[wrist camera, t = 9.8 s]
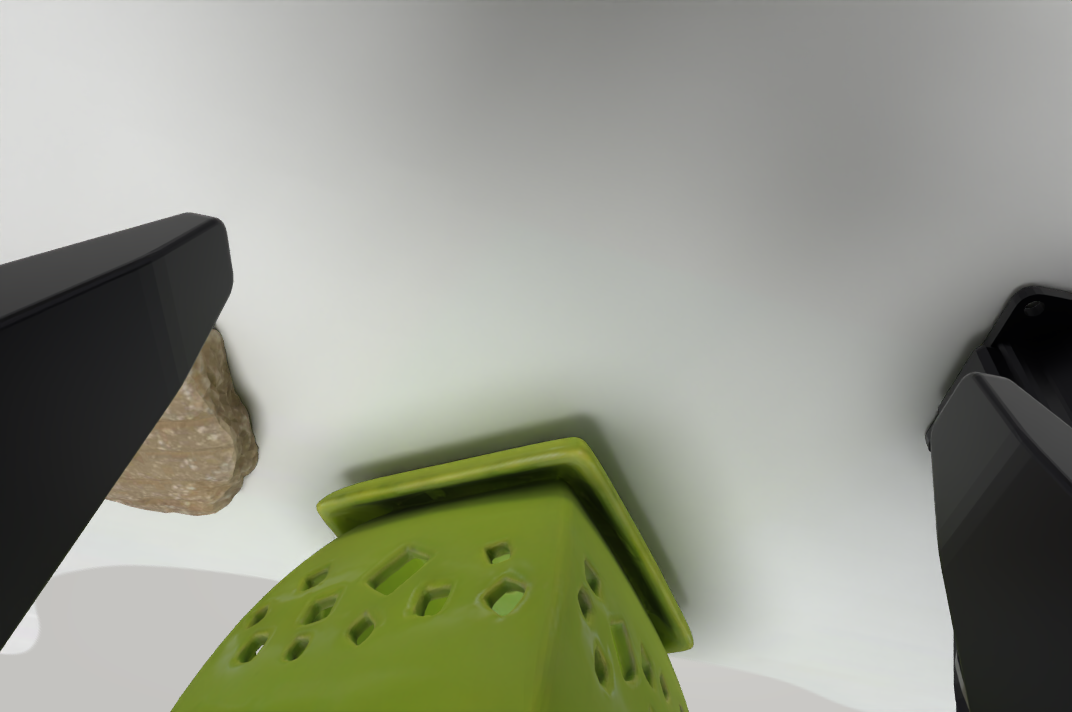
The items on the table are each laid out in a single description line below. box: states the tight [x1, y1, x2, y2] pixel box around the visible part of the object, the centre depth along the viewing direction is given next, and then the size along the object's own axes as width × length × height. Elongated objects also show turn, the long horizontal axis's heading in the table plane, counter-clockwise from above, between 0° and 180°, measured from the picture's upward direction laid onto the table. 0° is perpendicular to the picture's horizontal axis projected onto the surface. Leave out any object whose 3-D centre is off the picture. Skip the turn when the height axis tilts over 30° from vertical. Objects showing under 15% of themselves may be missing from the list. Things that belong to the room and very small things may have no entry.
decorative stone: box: [105, 329, 258, 516], centre depth 31 cm, size 10×16×4 cm, turn 94°
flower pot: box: [171, 437, 694, 712], centre depth 28 cm, size 14×14×13 cm
